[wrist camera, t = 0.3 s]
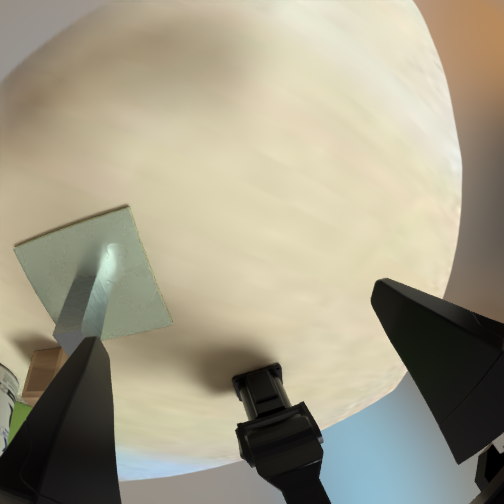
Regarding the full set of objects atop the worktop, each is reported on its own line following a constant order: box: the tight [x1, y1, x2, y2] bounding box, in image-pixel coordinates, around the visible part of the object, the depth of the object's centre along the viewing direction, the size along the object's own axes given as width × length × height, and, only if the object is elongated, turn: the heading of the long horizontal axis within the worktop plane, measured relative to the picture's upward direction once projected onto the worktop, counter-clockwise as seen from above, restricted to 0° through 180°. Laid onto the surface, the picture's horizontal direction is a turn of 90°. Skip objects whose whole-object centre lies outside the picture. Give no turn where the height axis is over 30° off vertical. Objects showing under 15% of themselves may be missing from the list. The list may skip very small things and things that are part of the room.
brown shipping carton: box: [21, 347, 69, 407], centre depth 21 cm, size 5×5×7 cm
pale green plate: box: [13, 206, 173, 357], centre depth 18 cm, size 12×12×7 cm
